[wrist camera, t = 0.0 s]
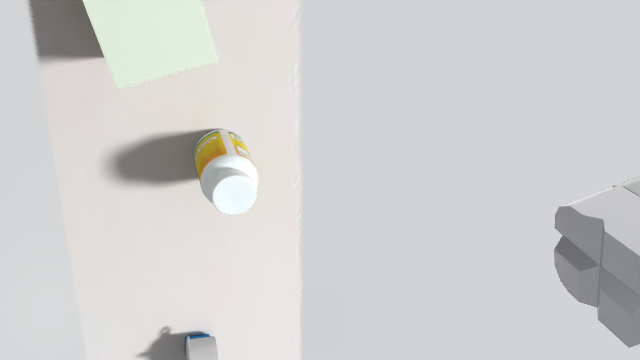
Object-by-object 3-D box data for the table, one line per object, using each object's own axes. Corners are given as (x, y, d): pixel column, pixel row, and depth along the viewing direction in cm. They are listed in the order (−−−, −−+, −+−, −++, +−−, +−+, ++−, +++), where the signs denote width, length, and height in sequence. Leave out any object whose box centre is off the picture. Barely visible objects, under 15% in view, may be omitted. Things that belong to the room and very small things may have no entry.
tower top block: (79, -28, 44) (75, -18, 40) (182, -53, 45) (188, -45, 41) (117, 70, 48) (117, 89, 44) (210, 45, 49) (219, 61, 45)
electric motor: (171, 322, 67) (175, 352, 63) (213, 318, 69) (219, 347, 64) (171, 367, 70) (174, 399, 66) (211, 362, 72) (217, 393, 67)
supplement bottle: (248, 129, 59) (269, 169, 51) (242, 176, 61) (261, 222, 53) (195, 126, 57) (207, 167, 49) (190, 174, 60) (201, 221, 51)
